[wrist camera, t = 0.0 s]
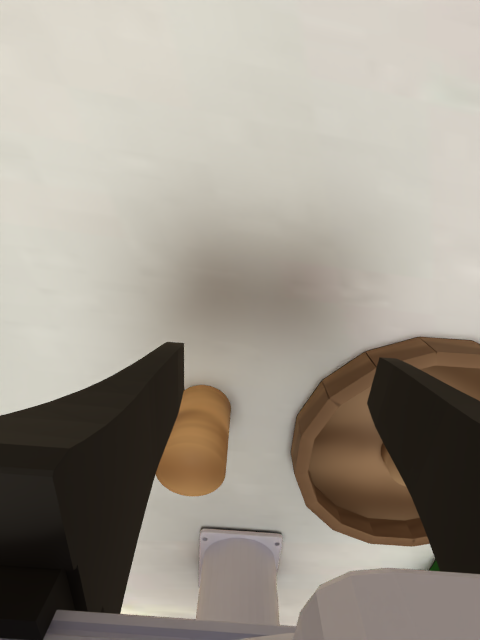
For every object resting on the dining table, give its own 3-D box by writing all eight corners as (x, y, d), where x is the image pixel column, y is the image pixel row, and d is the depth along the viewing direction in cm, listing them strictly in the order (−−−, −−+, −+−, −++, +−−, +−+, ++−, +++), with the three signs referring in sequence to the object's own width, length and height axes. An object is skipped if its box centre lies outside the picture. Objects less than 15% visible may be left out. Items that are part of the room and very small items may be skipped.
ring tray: (481, 527, 29) (499, 552, 27) (280, 513, 29) (283, 537, 27) (579, 347, 22) (614, 363, 20) (311, 329, 22) (317, 343, 20)
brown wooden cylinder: (229, 431, 25) (224, 498, 20) (176, 428, 25) (156, 493, 20) (232, 387, 24) (227, 446, 18) (175, 383, 24) (153, 441, 18)
